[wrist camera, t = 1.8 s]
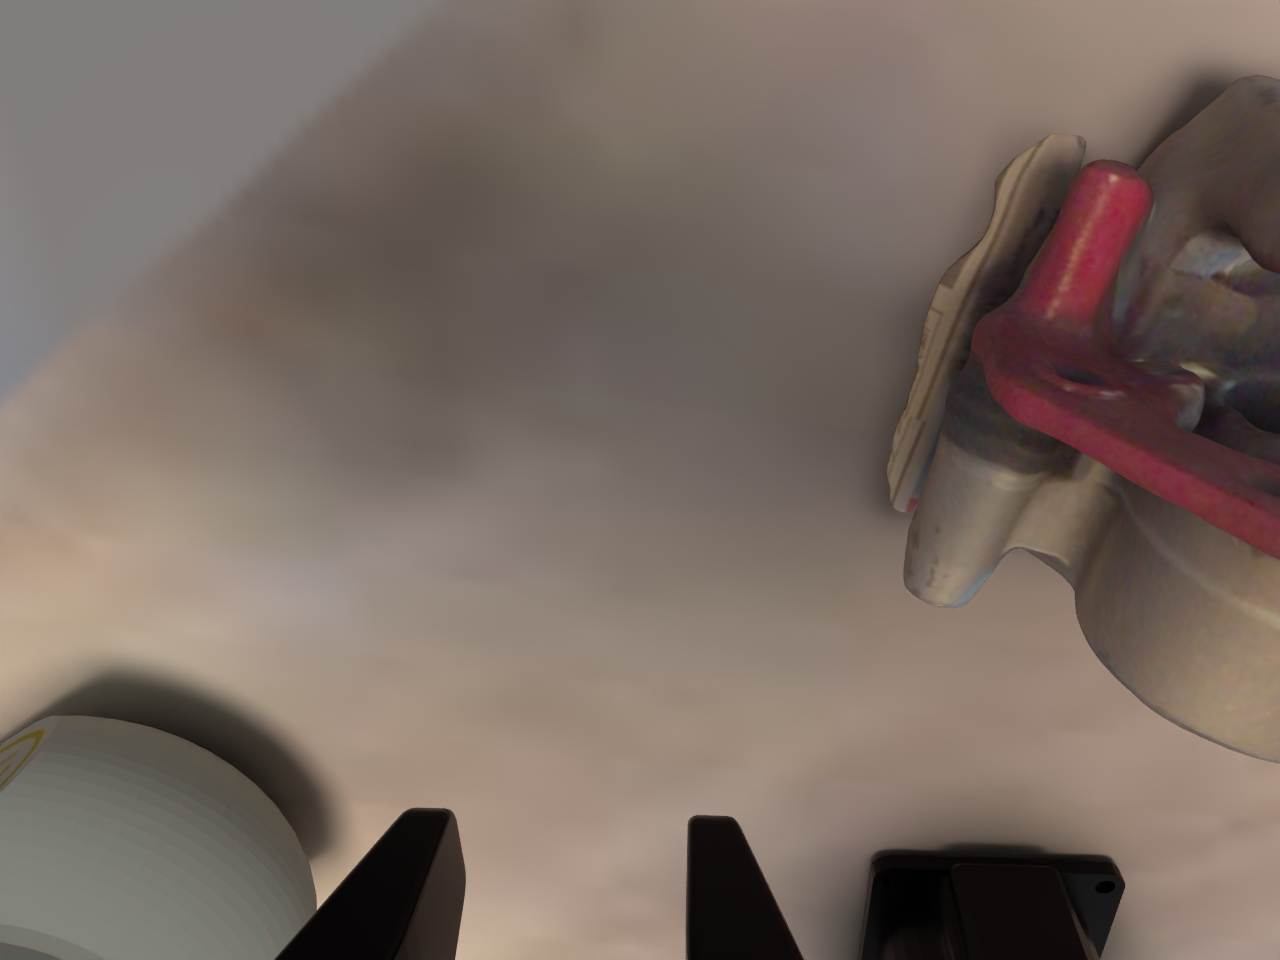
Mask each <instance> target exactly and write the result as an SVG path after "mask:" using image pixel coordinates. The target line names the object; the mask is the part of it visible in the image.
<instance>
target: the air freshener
mask: <svg viewBox="0 0 1280 960" xmlns="http://www.w3.org/2000/svg"><path fill="white" fill-rule="evenodd" d="M316 911H317V898H316V891H315V886H314V882H313V877H312V873H311V869H310V865H309V862H308V859H307V857H306V855H305V852H304V850H303V848H302V846H301V844H300V842H299V840H298V837H297V835H296V834H295V832H294V830H293V828H292V827H291V826H290V824H289V823H288V821H287V820H286V819H285V817H284V816H283V814H282V813H281V812H280V810H279V809H278V807H277V806H276V805H275V804H274V803H273V802H272V801H271V799H270V798H269V797H268V796H267V795H266V794H265V793H264V792H263V791H262V790H261V789H260V788H259V787H258V786H257V785H256V784H255V783H254V782H252V781H251V780H250V779H249V778H247V777H246V776H245V775H244V774H242V773H241V772H240V771H239V770H237V769H236V768H235V767H234V766H232V765H231V764H229V763H228V762H226V761H224V760H223V759H221V758H219V757H218V756H216V755H215V754H213V753H211V752H210V751H208V750H206V749H204V748H202V747H200V746H198V745H196V744H194V743H191V742H189V741H187V740H185V739H183V738H181V737H178V736H175V735H173V734H170V733H167V732H164V731H161V730H158V729H155V728H153V727H149V726H145V725H140V724H136V723H132V722H128V721H123V720H118V719H110V718H102V717H93V716H49V717H46V718H44V719H41V720H39V721H37V722H35V723H33V724H32V725H30V726H28V727H26V728H25V729H23V730H21V731H20V732H18V733H17V734H15V735H14V736H12V737H11V738H9V739H8V740H6V741H5V742H4V743H2V744H1V745H0V960H274V959H275V958H276V957H277V956H278V954H279V953H280V952H281V951H282V950H283V949H284V948H285V946H286V945H287V944H288V943H289V942H290V941H291V940H292V938H293V937H294V936H295V935H296V934H297V933H298V932H299V930H300V929H301V928H302V927H303V926H304V925H305V924H306V922H307V921H308V920H309V919H310V918H311V917H312V916H313V914H314V913H315V912H316Z"/></svg>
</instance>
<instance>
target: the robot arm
mask: <svg viewBox="0 0 1280 960" xmlns="http://www.w3.org/2000/svg"><path fill="white" fill-rule="evenodd" d="M465 885H466V873H465V864H464V859H463V853H462V848H461V842H460V837H459V831H458V825H457V820H456V817H455V815H454V813H453V812H452V811H451V810H449V809H446V808H411V809H408V810H407V811H405V812H404V813H402V814H401V815H400V816H399V817H398V819H397V820H396V821H395V822H394V823H393V824H392V825H391V827H390V828H389V829H388V830H387V831H386V832H385V833H384V835H383V836H382V837H381V838H380V839H379V840H378V841H377V843H376V844H375V845H374V846H373V847H372V848H371V849H370V851H369V852H368V853H367V854H366V855H365V856H364V857H363V859H362V860H361V861H360V862H359V863H358V864H357V865H356V866H355V868H354V869H353V870H352V871H351V872H350V873H349V874H348V876H347V877H346V878H345V879H344V880H343V881H342V882H341V884H340V885H339V886H338V887H337V888H336V889H335V890H334V892H333V893H332V894H331V895H330V896H329V897H328V898H327V900H326V901H325V902H324V903H323V904H322V905H321V906H320V908H319V909H318V910H317V911H316V912H315V913H314V914H313V916H312V917H311V918H310V919H309V920H308V921H307V922H306V924H305V925H304V926H303V927H302V928H301V929H300V930H299V932H298V933H297V934H296V935H295V936H294V937H293V938H292V940H291V941H290V942H289V943H288V944H287V945H286V946H285V948H284V949H283V950H282V951H281V952H280V953H279V954H278V956H277V957H276V958H275V959H274V960H455V956H456V949H457V942H458V936H459V929H460V923H461V916H462V910H463V903H464V896H465ZM1124 889H1125V882H1124V879H1123V877H1122V875H1121V872H1120V870H1119V869H1118V867H1117V866H1116V865H1114V864H1113V863H1110V862H1103V861H1069V860H1035V859H1002V858H968V857H934V856H901V855H889V856H883V857H880V858H878V859H876V860H875V861H874V862H873V863H872V866H871V870H870V877H869V883H868V890H867V897H866V904H865V911H864V918H863V925H862V932H861V939H860V946H859V953H858V960H1100V957H1101V954H1102V951H1103V949H1104V946H1105V943H1106V940H1107V937H1108V934H1109V931H1110V929H1111V926H1112V923H1113V920H1114V917H1115V914H1116V912H1117V909H1118V906H1119V903H1120V900H1121V897H1122V894H1123V892H1124ZM686 960H804V958H803V956H802V954H801V952H800V950H799V948H798V946H797V944H796V942H795V940H794V937H793V935H792V933H791V931H790V929H789V927H788V925H787V923H786V921H785V919H784V917H783V915H782V912H781V910H780V908H779V906H778V904H777V902H776V900H775V898H774V896H773V894H772V892H771V890H770V888H769V885H768V883H767V881H766V879H765V877H764V875H763V873H762V871H761V869H760V867H759V865H758V863H757V860H756V858H755V856H754V854H753V852H752V850H751V848H750V846H749V844H748V842H747V840H746V838H745V836H744V833H743V831H742V829H741V827H740V825H739V824H738V822H737V821H736V820H735V819H734V818H732V817H730V816H710V815H696V816H693V817H691V818H690V820H689V821H688V837H687V888H686Z"/></svg>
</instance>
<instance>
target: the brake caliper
mask: <svg viewBox="0 0 1280 960" xmlns="http://www.w3.org/2000/svg"><path fill="white" fill-rule="evenodd" d="M1085 148H1086V141H1085V140H1084V138H1082V137H1080V136H1075V135H1064V134H1055V135H1050V136H1048V137H1047V138H1045V139H1044V140H1042V141H1041V142H1039V143H1038V144H1037V145H1035V146H1033V147H1031V148H1029V149H1028V150H1026V151H1025V152H1023V153H1022V154H1020V155H1019V156H1017V157H1016V158H1015V159H1013V160H1012V161H1011V162H1010V164H1009V165H1008V166H1006V168H1005V169H1004V170H1003V171H1002V172H1001V173H1000V174H999V176H998V178H997V180H996V182H995V210H994V214H993V218H992V221H991V224H990V226H989V228H988V231H987V233H986V234H985V236H984V237H983V238H982V240H981V241H980V242H979V244H978V245H977V246H976V247H974V248H973V249H972V250H971V251H970V252H969V253H968V254H966V255H964V256H963V257H962V258H960V259H959V260H958V261H956V262H955V263H954V264H953V265H951V266H950V267H949V268H948V270H947V271H946V273H945V274H944V276H943V277H942V280H941V282H940V283H939V286H938V288H937V290H936V293H935V295H934V298H933V301H932V304H931V306H930V309H929V312H928V315H927V317H926V320H925V324H924V327H923V337H922V341H921V345H920V350H919V353H918V367H919V368H918V373H917V375H916V377H915V379H914V381H913V384H912V388H911V391H910V394H909V401H908V405H907V407H906V409H905V411H904V412H903V414H902V416H901V417H900V419H899V422H898V425H897V428H896V431H895V434H894V437H893V441H892V449H891V455H890V459H889V463H888V466H887V478H888V481H889V484H890V489H891V494H890V502H891V504H892V506H893V508H894V509H896V510H897V511H899V512H911V511H914V510H916V512H915V515H914V517H913V519H912V522H911V524H910V527H909V530H908V539H907V546H906V552H905V561H904V583H905V586H906V588H907V589H908V590H909V591H910V592H911V593H912V594H913V595H914V596H916V597H917V598H919V599H920V600H922V601H924V602H926V603H929V604H931V605H934V606H938V607H946V608H956V607H960V606H963V605H965V604H966V603H968V602H969V601H970V600H971V598H972V597H973V596H974V595H975V593H976V592H977V590H978V589H979V588H980V587H981V585H982V584H983V583H984V581H985V580H986V579H987V578H988V577H989V576H990V574H991V573H992V572H993V570H994V569H995V568H996V566H997V565H998V563H999V562H1000V560H1001V559H1002V558H1003V557H1004V556H1005V555H1006V554H1007V553H1008V552H1010V551H1011V550H1013V549H1017V548H1022V549H1024V550H1026V551H1028V552H1029V553H1031V554H1032V555H1034V556H1035V557H1037V558H1038V559H1040V560H1041V561H1042V562H1044V563H1045V564H1047V565H1048V566H1050V567H1051V568H1053V569H1054V570H1056V571H1057V572H1058V573H1059V574H1061V575H1062V576H1063V577H1064V578H1065V579H1066V580H1067V581H1068V582H1069V583H1070V585H1071V586H1072V587H1073V589H1074V591H1075V606H1076V614H1077V618H1078V621H1079V624H1080V627H1081V629H1082V632H1083V634H1084V636H1085V638H1086V640H1087V642H1088V644H1089V645H1090V647H1091V648H1092V650H1093V651H1094V653H1095V654H1096V656H1097V657H1098V659H1099V660H1100V661H1101V662H1102V664H1103V665H1104V666H1105V667H1106V668H1107V669H1108V670H1109V671H1110V672H1111V673H1112V674H1113V675H1114V676H1115V677H1116V678H1117V679H1118V680H1119V681H1120V682H1121V683H1122V684H1123V685H1124V686H1125V687H1126V688H1127V689H1128V690H1130V691H1131V692H1132V693H1133V694H1134V695H1135V696H1136V697H1137V698H1138V699H1140V700H1141V701H1142V702H1143V703H1144V704H1145V705H1146V706H1148V707H1149V708H1150V709H1151V710H1153V711H1154V712H1156V713H1157V714H1159V715H1160V716H1162V717H1163V718H1165V719H1167V720H1169V721H1170V722H1172V723H1174V724H1176V725H1177V726H1179V727H1181V728H1183V729H1185V730H1187V731H1189V732H1192V733H1194V734H1196V735H1198V736H1200V737H1202V738H1204V739H1207V740H1209V741H1211V742H1214V743H1216V744H1218V745H1221V746H1223V747H1225V748H1228V749H1230V750H1233V751H1236V752H1239V753H1242V754H1245V755H1248V756H1251V757H1254V758H1258V759H1262V760H1266V761H1270V762H1275V763H1279V764H1280V80H1277V79H1273V78H1270V77H1266V76H1258V75H1255V76H1250V77H1244V78H1241V79H1238V80H1237V81H1235V82H1234V83H1232V84H1231V85H1230V86H1229V87H1228V88H1227V89H1226V90H1225V91H1224V92H1223V93H1222V94H1221V95H1219V96H1218V97H1217V98H1216V99H1215V100H1214V101H1213V102H1212V103H1211V104H1209V105H1208V106H1207V107H1206V108H1205V109H1203V110H1202V111H1201V112H1200V113H1199V114H1198V115H1196V116H1195V117H1194V118H1193V119H1192V120H1191V121H1190V122H1188V123H1187V124H1186V125H1185V126H1183V127H1182V128H1180V129H1179V130H1177V131H1175V132H1174V133H1172V134H1171V135H1170V136H1168V137H1167V138H1166V139H1165V140H1164V141H1163V142H1162V143H1161V144H1160V145H1159V146H1158V147H1157V148H1156V149H1155V150H1154V151H1153V152H1152V153H1151V154H1150V155H1149V156H1148V157H1147V158H1146V159H1145V161H1144V162H1143V163H1142V164H1141V166H1140V167H1139V168H1138V170H1137V171H1136V170H1135V169H1134V168H1132V167H1130V166H1129V165H1127V164H1124V163H1122V162H1119V161H1114V160H1102V159H1101V160H1097V161H1093V162H1091V163H1089V164H1087V165H1086V166H1085V167H1084V168H1083V169H1082V170H1081V171H1080V172H1079V169H1080V166H1081V162H1082V158H1083V155H1084V151H1085ZM1078 172H1079V173H1078Z"/></svg>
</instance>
